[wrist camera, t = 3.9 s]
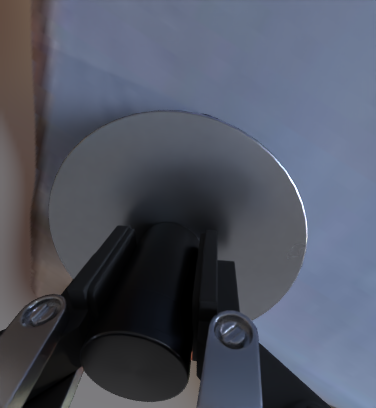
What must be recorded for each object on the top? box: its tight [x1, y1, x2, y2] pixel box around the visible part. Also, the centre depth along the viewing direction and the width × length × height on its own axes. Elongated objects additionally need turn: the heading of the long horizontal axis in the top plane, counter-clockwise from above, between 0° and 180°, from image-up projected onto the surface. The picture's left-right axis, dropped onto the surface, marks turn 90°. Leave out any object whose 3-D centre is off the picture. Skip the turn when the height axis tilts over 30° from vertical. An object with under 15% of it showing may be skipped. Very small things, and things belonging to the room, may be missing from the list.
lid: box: [49, 110, 307, 402], centre depth 9 cm, size 12×12×7 cm
